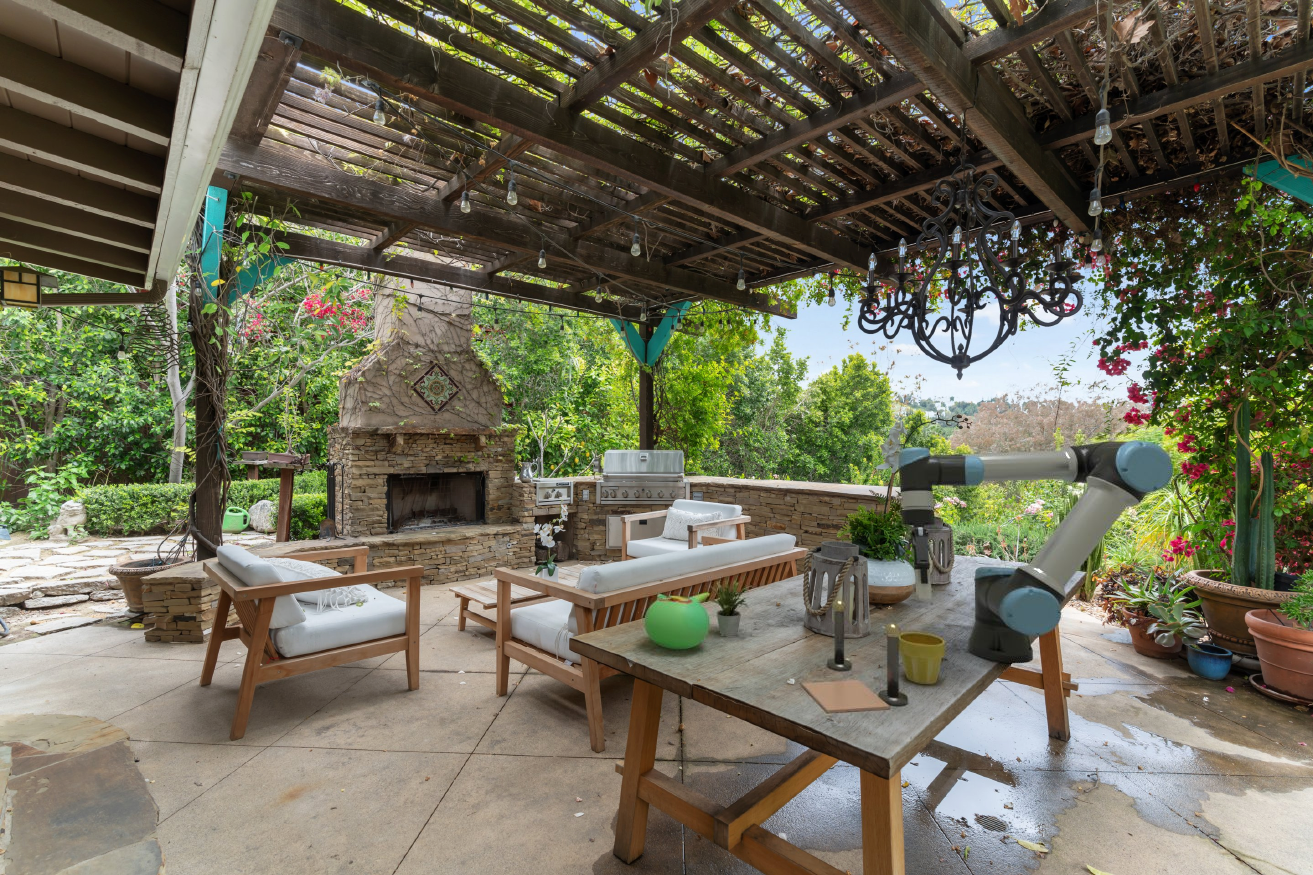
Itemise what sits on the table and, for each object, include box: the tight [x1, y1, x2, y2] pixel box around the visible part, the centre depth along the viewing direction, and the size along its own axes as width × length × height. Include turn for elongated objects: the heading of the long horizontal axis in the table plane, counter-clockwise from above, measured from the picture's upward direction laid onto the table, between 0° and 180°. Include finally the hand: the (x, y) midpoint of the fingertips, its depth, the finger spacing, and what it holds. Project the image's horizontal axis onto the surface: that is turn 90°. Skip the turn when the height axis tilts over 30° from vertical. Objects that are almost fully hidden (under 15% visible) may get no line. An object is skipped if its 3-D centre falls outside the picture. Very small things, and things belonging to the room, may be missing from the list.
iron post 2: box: [877, 622, 909, 707], centre depth 129 cm, size 6×6×17 cm
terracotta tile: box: [801, 679, 891, 714], centre depth 131 cm, size 14×14×1 cm
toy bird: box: [644, 592, 711, 650], centre depth 163 cm, size 18×17×15 cm
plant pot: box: [899, 631, 946, 685], centre depth 141 cm, size 10×10×10 cm
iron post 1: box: [826, 599, 853, 672], centre depth 149 cm, size 6×6×17 cm
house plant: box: [707, 578, 754, 637], centre depth 173 cm, size 14×14×16 cm
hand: (923, 596), depth 144 cm, fingers open, 13 cm apart
